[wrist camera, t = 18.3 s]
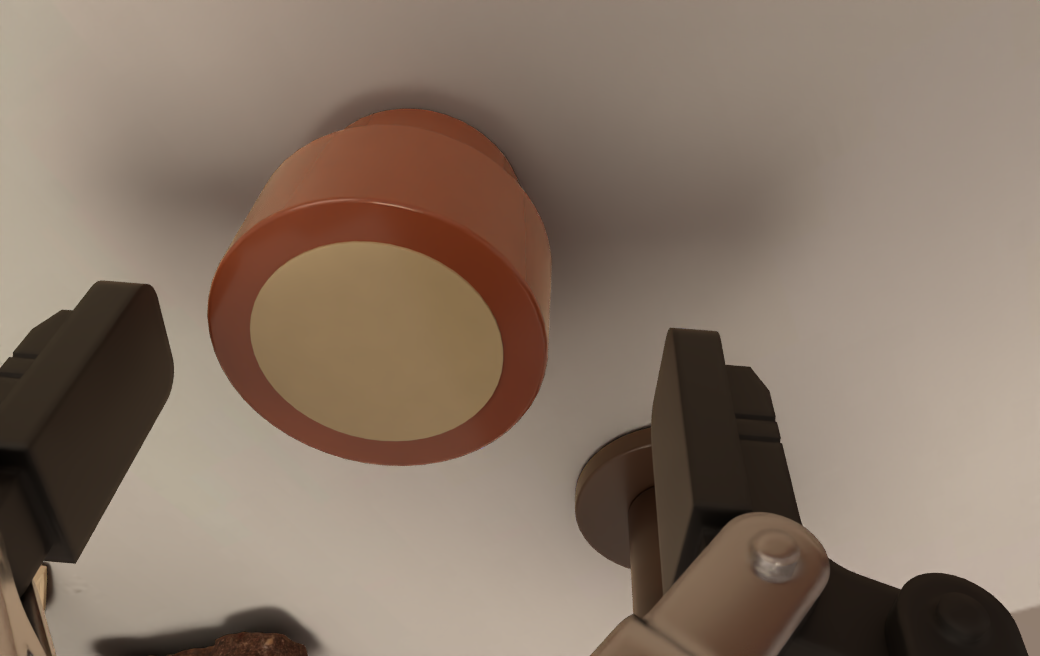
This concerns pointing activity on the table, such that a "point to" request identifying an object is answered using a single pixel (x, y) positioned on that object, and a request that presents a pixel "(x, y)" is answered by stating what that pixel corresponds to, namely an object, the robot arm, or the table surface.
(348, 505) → the table surface
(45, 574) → the decorative ornament
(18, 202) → the table surface
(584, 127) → the table surface
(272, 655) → the stone
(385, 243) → the terracotta bowl
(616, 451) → the walnut post
